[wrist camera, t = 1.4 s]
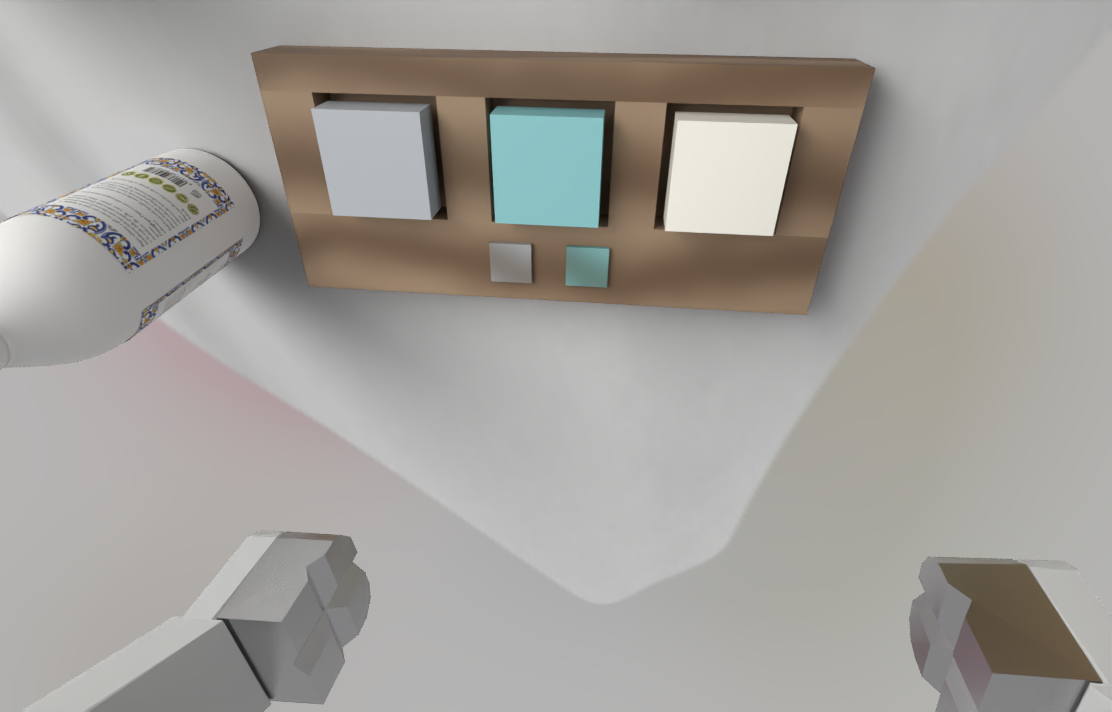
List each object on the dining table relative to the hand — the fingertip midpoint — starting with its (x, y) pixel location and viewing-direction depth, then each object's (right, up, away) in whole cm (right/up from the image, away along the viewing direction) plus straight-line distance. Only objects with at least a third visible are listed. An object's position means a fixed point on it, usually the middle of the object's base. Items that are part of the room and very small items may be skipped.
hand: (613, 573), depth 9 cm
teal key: (-1, +14, +23) cm, 27 cm away
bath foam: (-23, +13, +29) cm, 39 cm away
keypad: (-1, +14, +26) cm, 29 cm away
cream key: (+8, +13, +22) cm, 27 cm away
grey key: (-10, +14, +24) cm, 29 cm away
